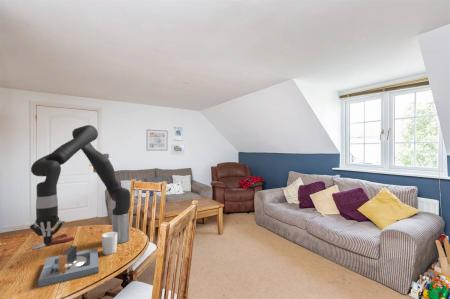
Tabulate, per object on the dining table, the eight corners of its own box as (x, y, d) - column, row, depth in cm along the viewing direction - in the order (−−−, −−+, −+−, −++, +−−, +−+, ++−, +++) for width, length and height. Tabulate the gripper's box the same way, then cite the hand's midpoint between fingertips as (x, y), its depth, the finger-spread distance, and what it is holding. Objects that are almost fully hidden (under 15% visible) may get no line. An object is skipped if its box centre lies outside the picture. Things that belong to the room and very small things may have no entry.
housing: (97, 253, 125) (97, 248, 125) (98, 272, 106) (98, 266, 106) (46, 263, 114) (47, 257, 114) (38, 287, 95) (38, 279, 95)
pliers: (27, 248, 132) (27, 243, 132) (65, 236, 149) (65, 233, 149) (35, 253, 126) (35, 248, 126) (74, 240, 143) (74, 236, 143)
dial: (63, 261, 115) (63, 243, 114) (90, 259, 117) (90, 241, 117) (45, 280, 99) (46, 258, 99) (76, 277, 101) (76, 256, 101)
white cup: (120, 250, 130) (120, 232, 130) (109, 256, 122) (109, 237, 122) (109, 248, 132) (109, 231, 132) (98, 254, 125) (98, 235, 125)
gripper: (67, 202, 106) (68, 239, 106) (34, 204, 103) (35, 242, 103) (60, 206, 99) (61, 245, 99) (24, 208, 95) (25, 249, 96)
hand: (48, 244), depth 101 cm, fingers closed
